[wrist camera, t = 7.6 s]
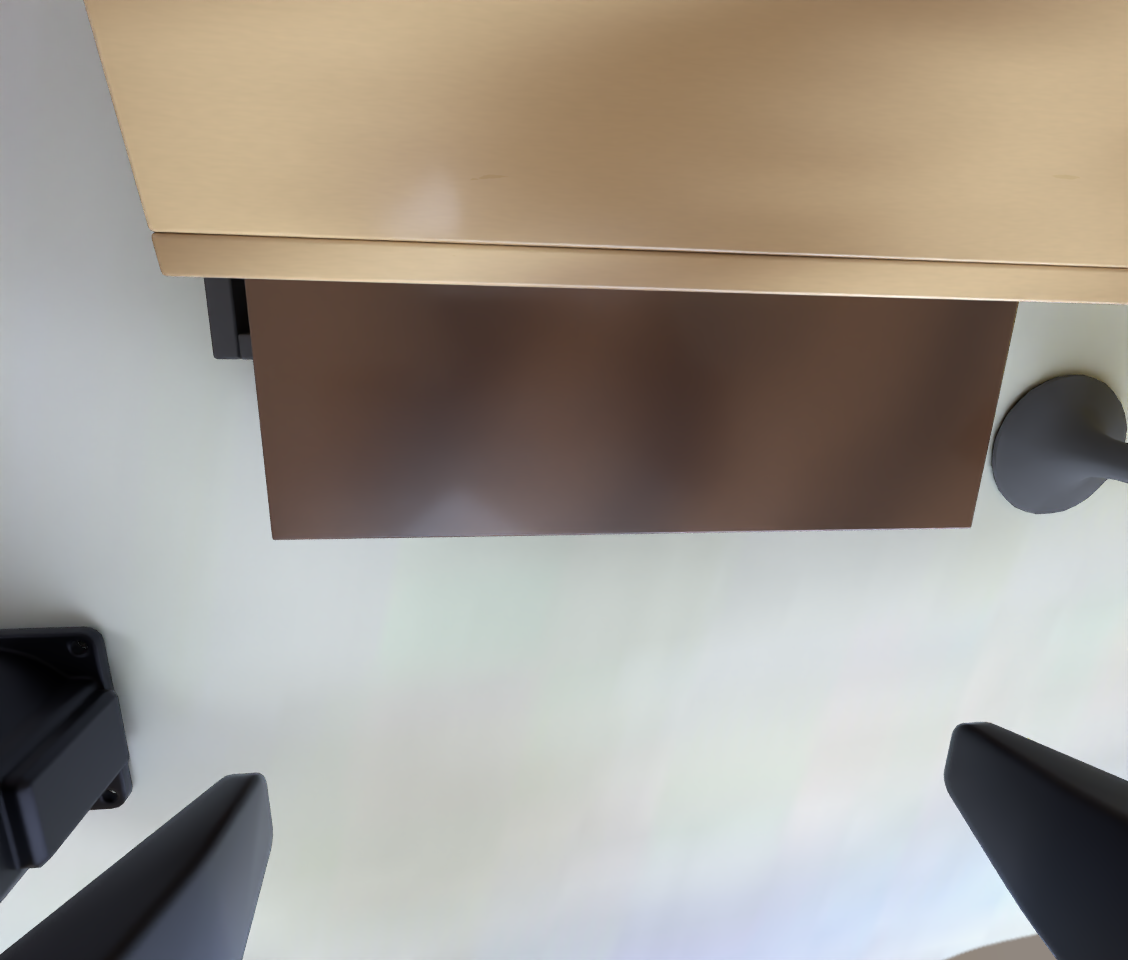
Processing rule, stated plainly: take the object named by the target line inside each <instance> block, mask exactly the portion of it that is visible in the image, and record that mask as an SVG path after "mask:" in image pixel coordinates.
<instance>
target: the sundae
mask: <svg viewBox="0 0 1128 960" xmlns="http://www.w3.org/2000/svg"><path fill="white" fill-rule="evenodd" d="M1126 431H1127V424H1126V418H1125V413H1124V410H1123V407H1122V404H1121V402H1120V401H1119V399H1118V398H1117V396H1116V395H1115V394H1114V392H1113V391H1112V390H1111V389H1110V388H1109V387H1108V386H1107V385H1106V384H1105V383H1103V382H1101V381H1099V380H1097V379H1095V378H1092V377H1089V376H1085V375H1067V376H1061V377H1056V378H1054V379H1051V380H1049V381H1047V382H1045V383H1043V384H1041V385H1039V386H1037V387H1036V388H1034V389H1032V390H1030V391H1029V392H1028V393H1027V394H1026V395H1025V396H1024V397H1023V398H1022V399H1021V400H1020V401H1019V402H1018V403H1017V404H1016V405H1015V406H1014V407H1013V408H1012V410H1011V411H1010V412H1009V413H1008V415H1007V416H1006V418H1005V420H1004V422H1003V423H1002V425H1001V427H1000V430H999V432H998V434H997V436H996V439H995V444H994V449H993V459H992V468H993V473H994V478H995V481H996V484H997V486H998V489H999V491H1000V492H1001V493H1002V495H1003V496H1004V497H1005V498H1006V500H1008V501H1009V502H1010V503H1011V504H1012V505H1013V506H1014V507H1016V508H1019V509H1021V510H1024V511H1027V512H1030V513H1034V514H1046V513H1055V512H1060V511H1065V510H1067V509H1069V508H1071V507H1073V506H1076V505H1077V504H1079V503H1081V502H1082V501H1084V500H1085V499H1087V498H1088V497H1089V496H1090V495H1092V494H1093V493H1094V492H1095V491H1096V490H1097V489H1098V488H1099V487H1100V486H1101V485H1102V484H1103V483H1104V482H1105V481H1106V480H1107V479H1114V480H1118V481H1122V482H1125V483H1128V443H1125V439H1126Z"/></svg>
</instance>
